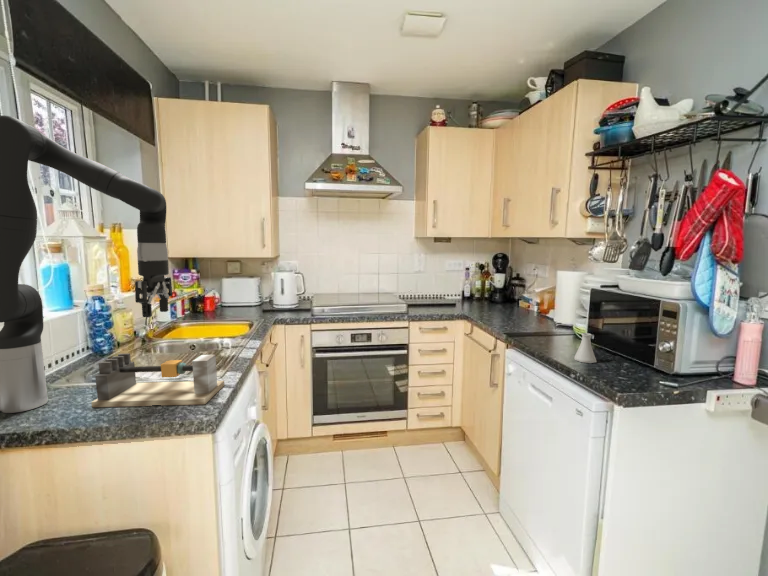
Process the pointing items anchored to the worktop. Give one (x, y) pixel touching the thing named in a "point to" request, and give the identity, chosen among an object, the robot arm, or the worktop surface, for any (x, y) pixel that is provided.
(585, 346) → the flask
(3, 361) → the robot arm
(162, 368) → the sleeve
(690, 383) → the worktop surface
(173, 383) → the cord board
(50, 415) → the worktop surface
